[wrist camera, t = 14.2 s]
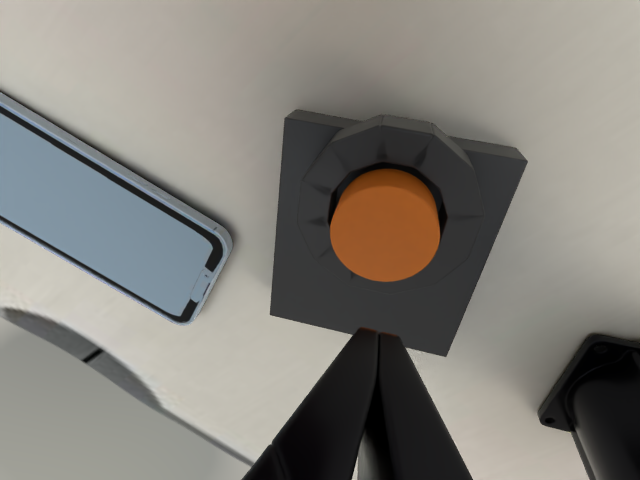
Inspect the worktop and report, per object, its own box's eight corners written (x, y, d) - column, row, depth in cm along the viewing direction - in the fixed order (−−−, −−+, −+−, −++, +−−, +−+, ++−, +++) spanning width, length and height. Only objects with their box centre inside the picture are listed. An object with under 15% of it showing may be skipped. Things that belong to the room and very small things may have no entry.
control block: (443, 333, 20) (449, 387, 17) (279, 295, 21) (257, 340, 18) (524, 128, 15) (554, 155, 12) (297, 90, 16) (270, 105, 13)
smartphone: (-51, 70, 17) (234, 241, 18) (-29, 68, 18) (241, 232, 19) (-49, 195, 21) (187, 332, 22) (-32, 189, 22) (195, 321, 23)
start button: (422, 265, 15) (423, 292, 13) (331, 246, 15) (323, 270, 14) (449, 178, 13) (455, 198, 11) (346, 159, 13) (338, 176, 12)
